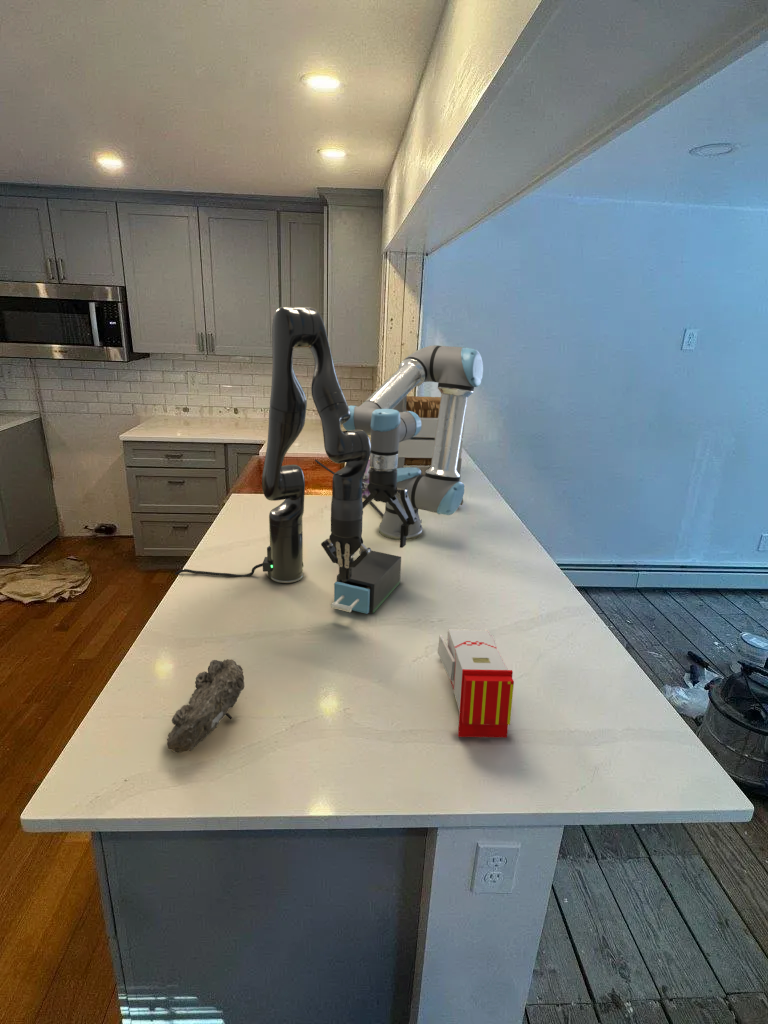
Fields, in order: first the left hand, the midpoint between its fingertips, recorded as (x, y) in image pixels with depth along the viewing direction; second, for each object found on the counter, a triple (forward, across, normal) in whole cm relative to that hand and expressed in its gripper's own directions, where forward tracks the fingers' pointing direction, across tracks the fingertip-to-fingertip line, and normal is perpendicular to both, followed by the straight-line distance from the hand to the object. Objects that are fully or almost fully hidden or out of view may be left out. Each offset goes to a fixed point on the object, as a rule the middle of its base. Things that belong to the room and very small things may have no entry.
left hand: (345, 579), depth 140 cm
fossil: (+11, -6, -44) cm, 46 cm away
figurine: (+11, -37, +95) cm, 103 cm away
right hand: (-2, 0, +22) cm, 22 cm away
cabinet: (+11, 0, +15) cm, 19 cm away
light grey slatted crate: (+11, -28, +139) cm, 142 cm away
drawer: (+10, 0, +9) cm, 14 cm away
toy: (+11, +36, -15) cm, 41 cm away
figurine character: (+11, -1, +101) cm, 101 cm away
